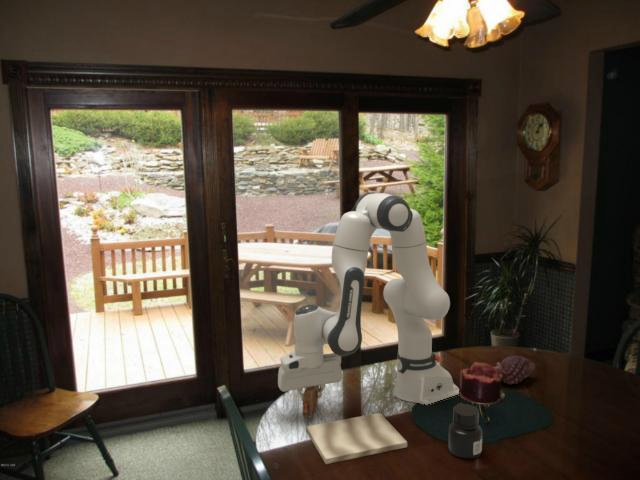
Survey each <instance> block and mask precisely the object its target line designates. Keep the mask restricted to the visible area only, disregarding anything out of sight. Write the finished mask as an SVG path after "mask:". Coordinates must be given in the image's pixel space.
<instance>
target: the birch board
mask: <svg viewBox="0 0 640 480" xmlns="http://www.w3.org/2000/svg"><path fill="white" fill-rule="evenodd" d="M305 430H306V433H307V435H308V436H309V437H308V438H309V439H310V440H311V442H312V443H313V445H314V447H315V449H316V450H317V452H318V453H319V455H320V457H321V458H322V460H323V462H324V464H325V465H330V464H333V463H340V462H343V461H347V460H353V459H357V458H362V457H365V456H366V457H367V456H372V455H375V454H381V453H385V452H390V451H391V452H392V451H395V450H396V451H397V450H399V449H405V448H408V441H407V440H406V439H405V438H404V437H403V436H402V435H401V434H400V432H398V430H396V428H395V427H394V426H393V425H392V424H391V422H389V421H388V420H387V419H386V418H385V417H384V415H383V414H382V413H380V412H378V413H373V414H371V413H370V414H366V415H362V416H355V417H351V418H345V419H344V418H343V419H341V420H340V419H339V420H333V421H329V422H323V423H318V424H312V425H307V426H306V427H305Z"/></svg>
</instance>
